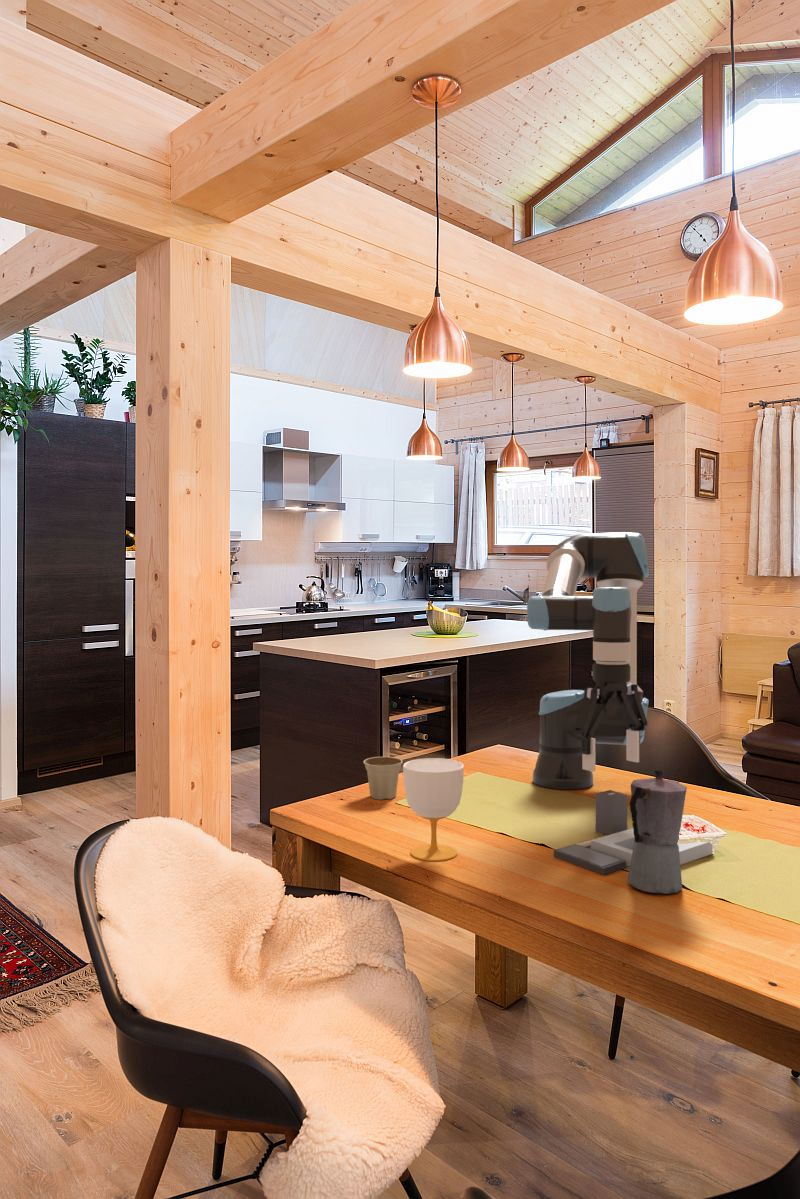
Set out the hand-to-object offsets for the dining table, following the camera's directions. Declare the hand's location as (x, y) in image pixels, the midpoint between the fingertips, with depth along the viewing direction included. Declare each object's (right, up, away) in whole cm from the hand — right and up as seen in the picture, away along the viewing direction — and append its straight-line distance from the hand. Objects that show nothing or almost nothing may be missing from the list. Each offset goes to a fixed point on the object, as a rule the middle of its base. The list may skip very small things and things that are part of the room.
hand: (611, 765), depth 168 cm
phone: (-8, -14, -17) cm, 23 cm away
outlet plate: (+4, -14, -12) cm, 19 cm away
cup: (-37, -15, -11) cm, 41 cm away
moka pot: (0, -15, -29) cm, 32 cm away
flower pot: (-47, -14, +29) cm, 57 cm away
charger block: (0, -14, +1) cm, 14 cm away
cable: (-5, -14, -6) cm, 16 cm away
